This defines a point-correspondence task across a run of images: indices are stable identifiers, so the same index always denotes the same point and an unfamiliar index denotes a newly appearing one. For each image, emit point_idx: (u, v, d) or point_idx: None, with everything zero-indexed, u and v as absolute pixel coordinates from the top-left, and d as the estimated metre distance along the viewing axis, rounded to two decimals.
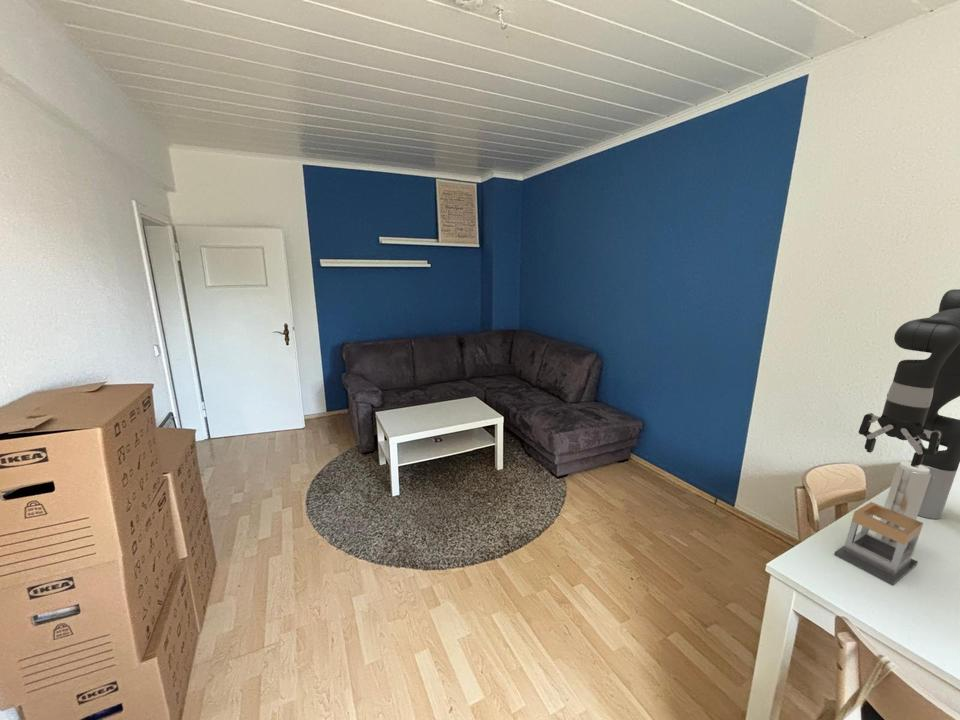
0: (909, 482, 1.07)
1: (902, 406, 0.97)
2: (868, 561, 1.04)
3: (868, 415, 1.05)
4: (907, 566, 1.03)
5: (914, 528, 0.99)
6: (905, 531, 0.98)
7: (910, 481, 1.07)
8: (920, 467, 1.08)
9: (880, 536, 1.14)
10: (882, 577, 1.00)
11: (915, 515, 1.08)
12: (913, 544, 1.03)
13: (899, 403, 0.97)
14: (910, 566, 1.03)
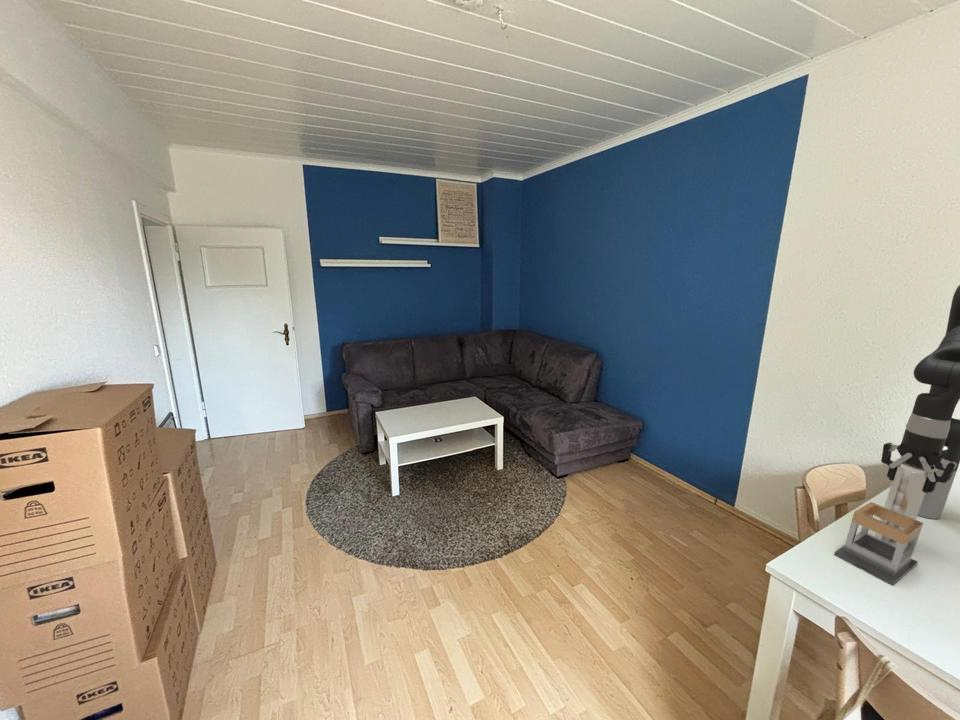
0: (909, 482, 1.07)
1: (921, 436, 1.04)
2: (868, 561, 1.04)
3: (887, 444, 1.12)
4: (907, 566, 1.03)
5: (914, 528, 0.99)
6: (905, 531, 0.98)
7: (910, 481, 1.07)
8: None
9: (880, 536, 1.14)
10: (882, 577, 1.00)
11: (915, 515, 1.08)
12: (913, 544, 1.03)
13: (918, 433, 1.04)
14: (910, 566, 1.03)
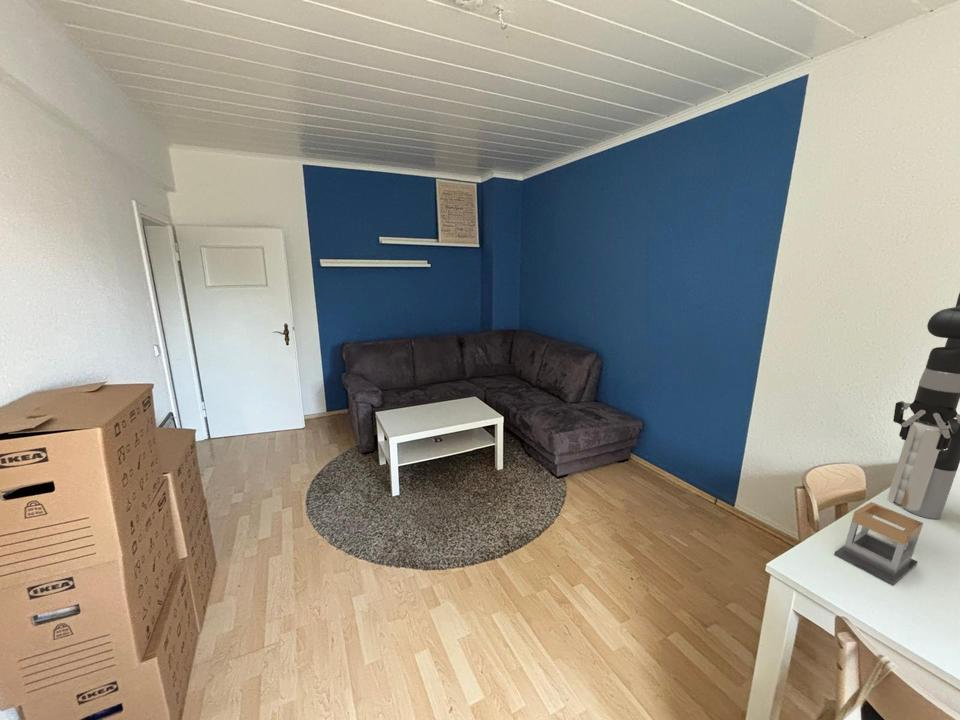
0: (923, 440, 1.04)
1: (935, 391, 1.01)
2: (868, 561, 1.04)
3: (899, 403, 1.09)
4: (907, 566, 1.03)
5: (914, 528, 0.99)
6: (905, 531, 0.98)
7: (924, 439, 1.04)
8: None
9: (892, 498, 1.11)
10: (882, 577, 1.00)
11: (929, 474, 1.05)
12: (913, 544, 1.03)
13: (932, 388, 1.01)
14: (910, 566, 1.03)
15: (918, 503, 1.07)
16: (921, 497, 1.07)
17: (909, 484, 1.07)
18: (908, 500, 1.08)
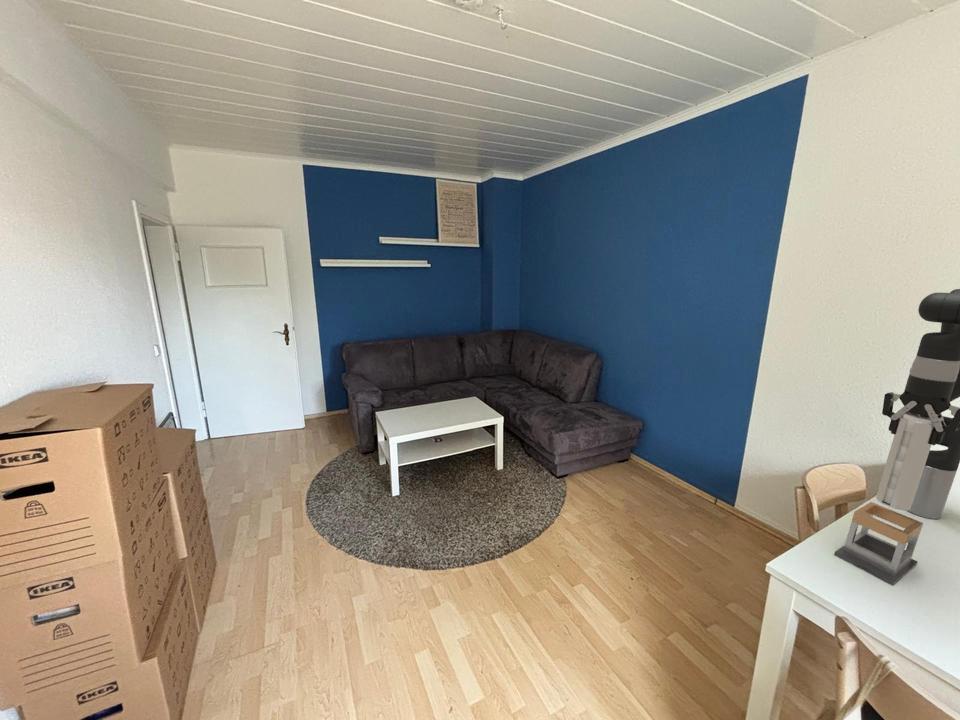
0: (913, 433, 0.96)
1: (927, 380, 0.92)
2: (868, 561, 1.04)
3: (888, 394, 1.01)
4: (907, 566, 1.03)
5: (914, 528, 0.99)
6: (905, 531, 0.98)
7: (914, 432, 0.96)
8: None
9: (881, 497, 1.03)
10: (882, 577, 1.00)
11: (920, 471, 0.97)
12: (913, 544, 1.03)
13: (923, 378, 0.93)
14: (910, 566, 1.03)
15: (909, 502, 0.99)
16: (912, 496, 0.99)
17: (899, 482, 0.99)
18: (898, 499, 1.00)
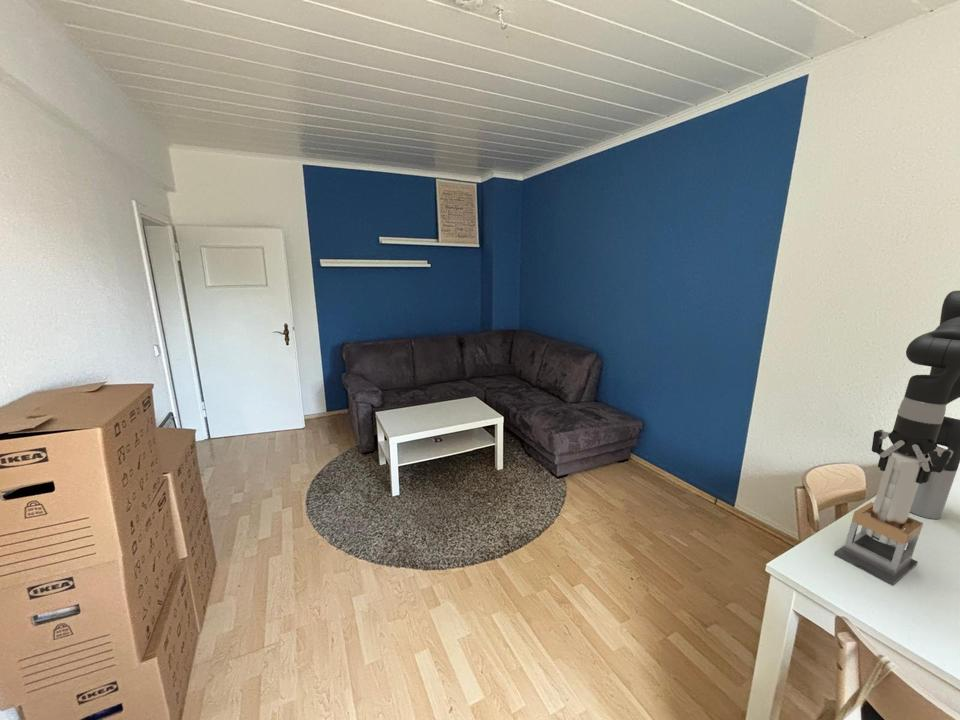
0: (901, 472, 0.98)
1: (914, 422, 0.95)
2: (868, 561, 1.04)
3: (878, 432, 1.03)
4: (907, 566, 1.03)
5: (914, 528, 0.99)
6: (905, 531, 0.98)
7: (902, 471, 0.98)
8: None
9: (870, 531, 1.05)
10: (882, 577, 1.00)
11: (908, 508, 0.99)
12: (913, 544, 1.03)
13: (911, 419, 0.95)
14: (910, 566, 1.03)
15: None
16: None
17: (888, 518, 1.01)
18: None
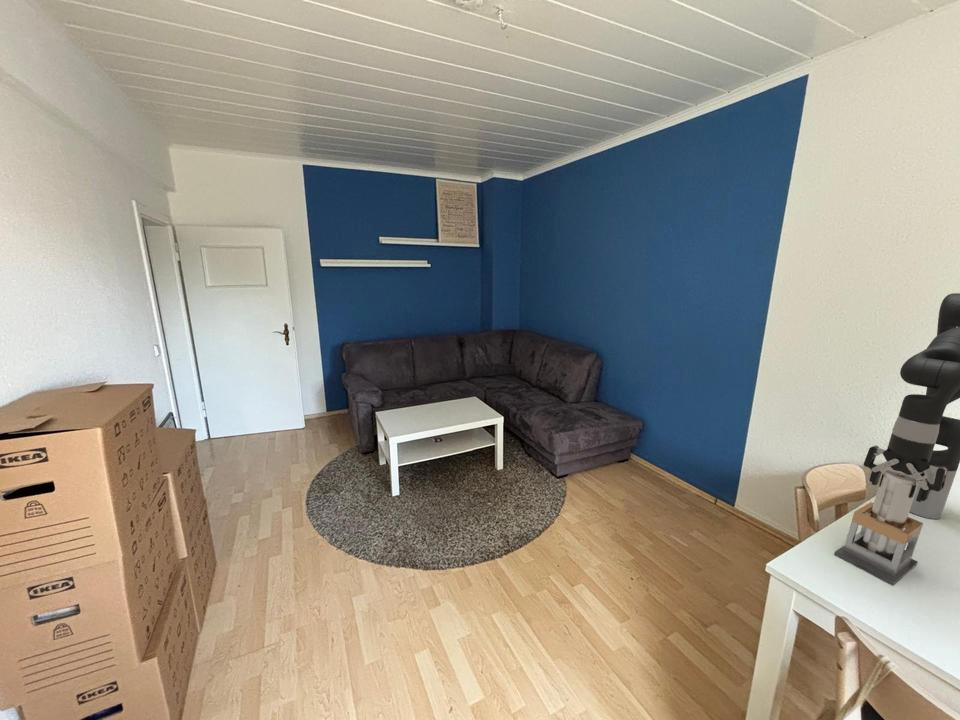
0: (895, 493, 1.00)
1: (908, 441, 0.96)
2: (868, 561, 1.04)
3: (873, 448, 1.04)
4: (907, 566, 1.03)
5: (914, 528, 0.99)
6: (905, 531, 0.98)
7: (896, 492, 1.00)
8: (907, 476, 1.01)
9: None
10: (882, 577, 1.00)
11: (901, 528, 1.01)
12: (913, 544, 1.03)
13: (905, 438, 0.97)
14: (910, 566, 1.03)
15: (891, 557, 1.03)
16: (893, 551, 1.03)
17: (881, 537, 1.03)
18: (880, 553, 1.04)
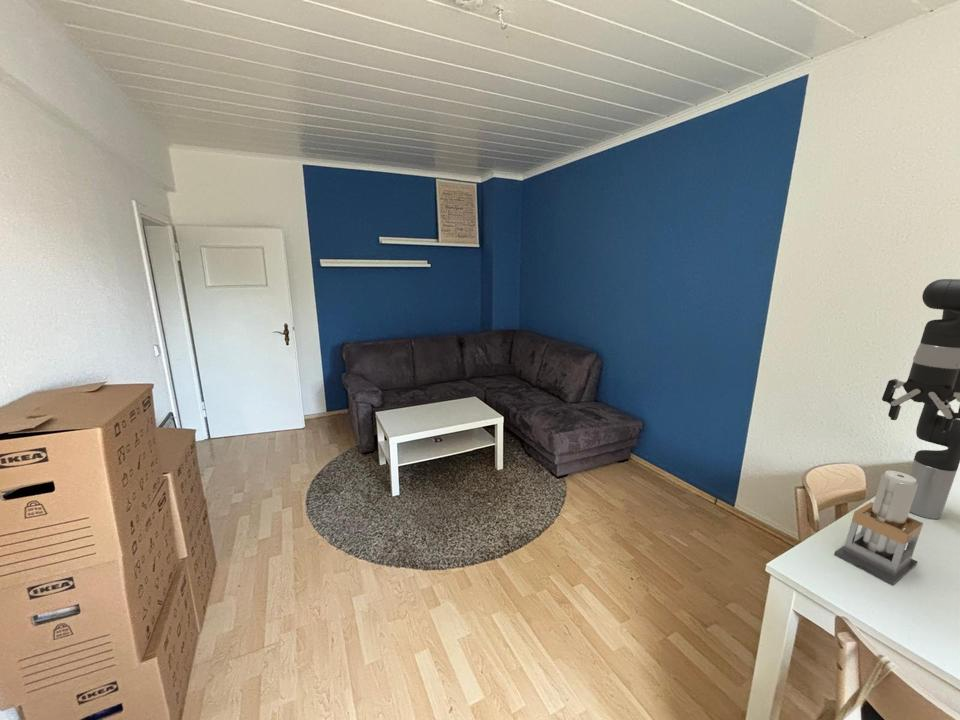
0: (894, 493, 1.00)
1: (931, 368, 0.92)
2: (868, 561, 1.04)
3: (893, 380, 1.00)
4: (907, 566, 1.03)
5: (914, 528, 0.99)
6: (905, 531, 0.98)
7: (895, 492, 1.00)
8: (907, 476, 1.00)
9: None
10: (882, 577, 1.00)
11: (901, 528, 1.01)
12: (913, 544, 1.03)
13: (927, 365, 0.92)
14: (910, 566, 1.03)
15: (891, 557, 1.03)
16: (893, 551, 1.03)
17: (881, 537, 1.03)
18: (880, 554, 1.04)
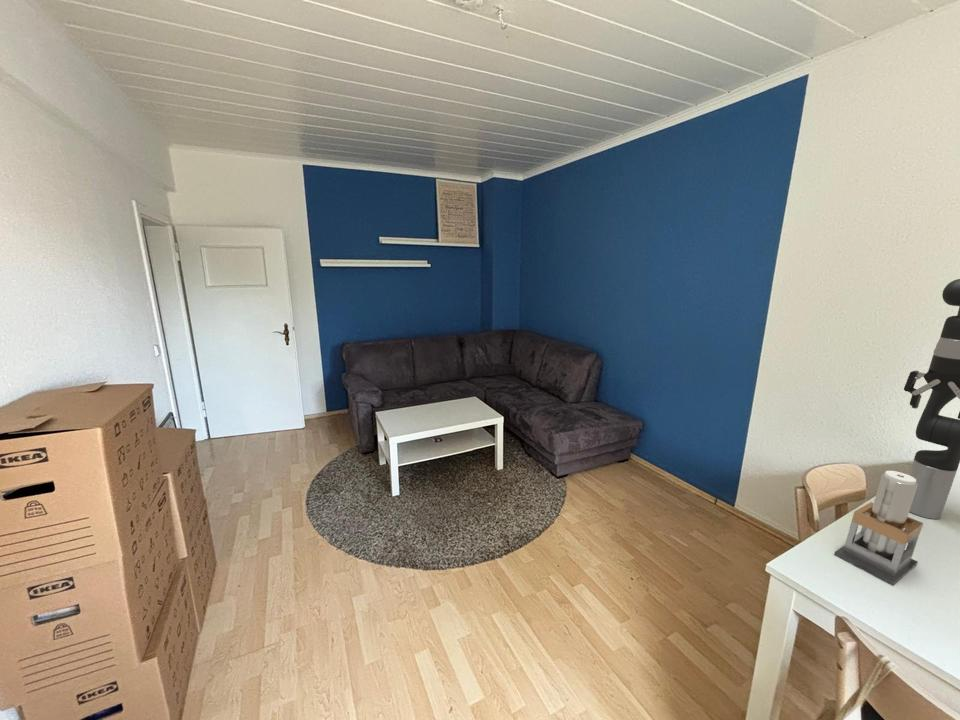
0: (894, 493, 1.00)
1: (950, 359, 1.01)
2: (868, 561, 1.04)
3: (914, 372, 1.08)
4: (907, 566, 1.03)
5: (914, 528, 0.99)
6: (905, 531, 0.98)
7: (895, 492, 1.00)
8: (907, 476, 1.00)
9: None
10: (882, 577, 1.00)
11: (901, 528, 1.01)
12: (913, 544, 1.03)
13: (947, 357, 1.01)
14: (910, 566, 1.03)
15: (891, 557, 1.03)
16: (893, 551, 1.03)
17: (881, 537, 1.03)
18: (880, 554, 1.04)
